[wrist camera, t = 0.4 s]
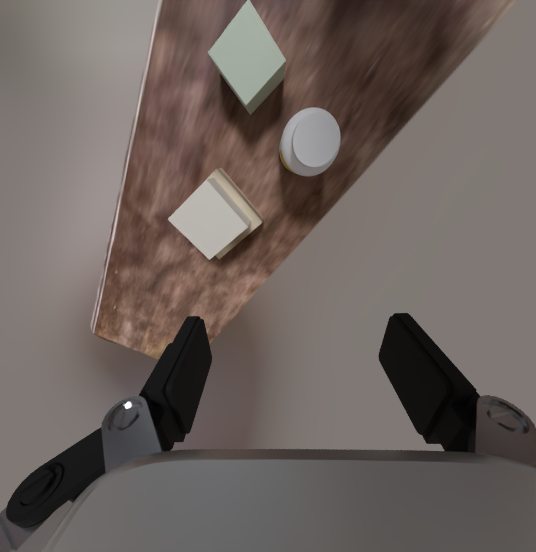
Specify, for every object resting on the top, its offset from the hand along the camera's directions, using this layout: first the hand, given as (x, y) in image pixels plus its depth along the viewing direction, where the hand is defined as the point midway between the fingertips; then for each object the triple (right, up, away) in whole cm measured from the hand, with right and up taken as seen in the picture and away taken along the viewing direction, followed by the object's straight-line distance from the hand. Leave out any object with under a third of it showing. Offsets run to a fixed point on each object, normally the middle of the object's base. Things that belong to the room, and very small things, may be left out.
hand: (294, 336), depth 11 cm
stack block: (-4, +30, +18) cm, 35 cm away
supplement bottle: (+4, +22, +22) cm, 31 cm away
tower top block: (-10, +12, +23) cm, 28 cm away
